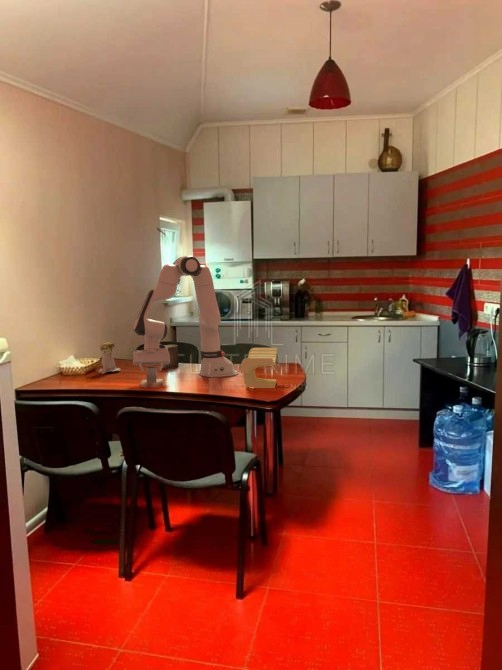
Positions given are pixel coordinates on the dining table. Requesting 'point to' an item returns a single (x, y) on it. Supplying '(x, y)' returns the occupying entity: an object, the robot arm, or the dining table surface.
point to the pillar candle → (172, 356)
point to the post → (158, 384)
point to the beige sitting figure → (107, 358)
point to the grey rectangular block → (151, 374)
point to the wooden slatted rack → (255, 360)
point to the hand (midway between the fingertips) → (151, 370)
